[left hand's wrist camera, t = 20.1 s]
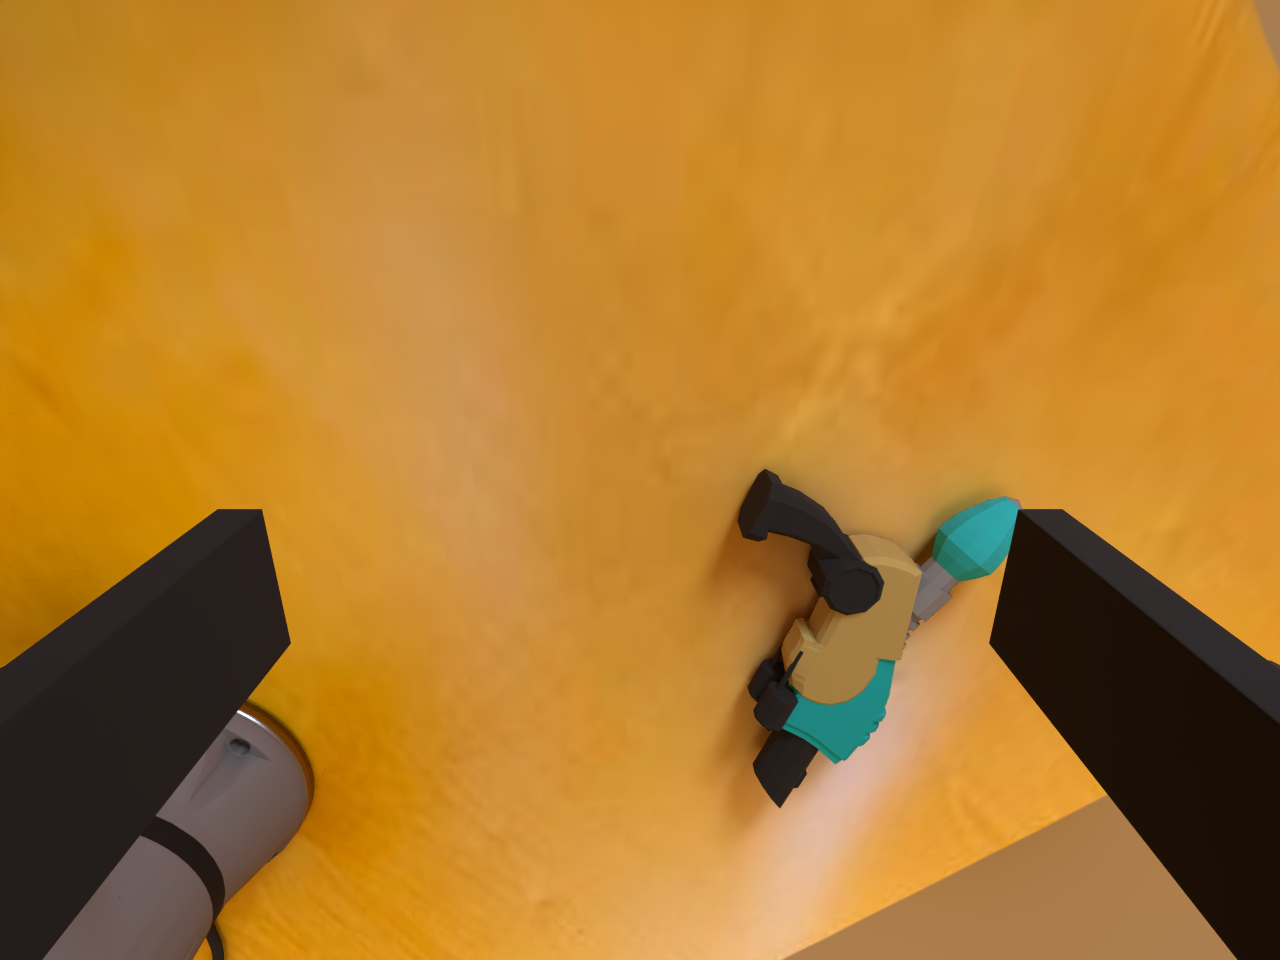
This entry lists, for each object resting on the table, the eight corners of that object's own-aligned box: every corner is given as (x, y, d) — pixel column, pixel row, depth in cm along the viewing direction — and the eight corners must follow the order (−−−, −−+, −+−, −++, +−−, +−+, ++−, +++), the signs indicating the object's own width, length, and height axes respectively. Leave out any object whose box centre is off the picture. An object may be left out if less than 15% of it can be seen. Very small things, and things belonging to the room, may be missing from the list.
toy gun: (621, 775, 45) (827, 844, 48) (814, 418, 37) (1054, 522, 39) (622, 728, 49) (811, 792, 52) (796, 397, 41) (1013, 491, 43)
